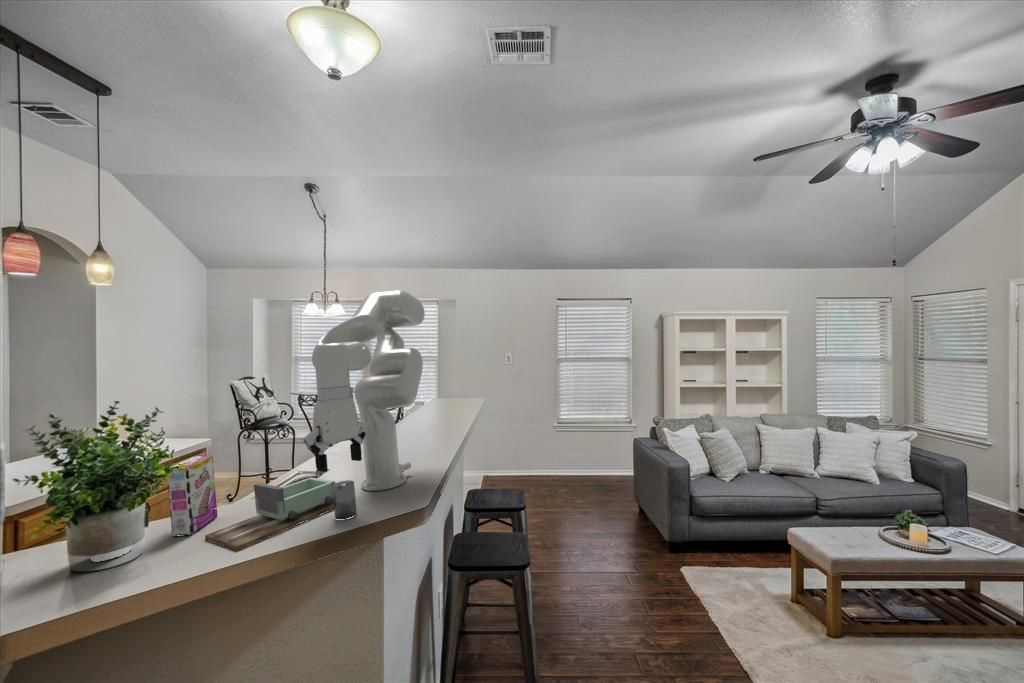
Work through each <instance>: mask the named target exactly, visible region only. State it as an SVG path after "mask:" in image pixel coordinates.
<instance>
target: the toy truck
mask: <svg viewBox="0 0 1024 683" xmlns="http://www.w3.org/2000/svg"><path fill="white" fill-rule="evenodd" d="M335 483H336V480H335V481H334V480H328V479H322V478H316V477H307V478H305V479H302V480H300V481H297V482H293V483H290V484H289V485H288V484H287V485H285V486H283V487H282V486H281V487H280V486H277V485H271V484H267V483H265V484H264V483H261V482H257V483H254V484H253V489H254V490H253V491H254V500H255V502H254V503H255V512H256V514H257V515H264V516H267V517H271V518H275V519H279V520H282V519H285V518H287V517H288V518H289V519H292V520H294V519H296V517H297V513H300V512H302V511H305V510H307V509H309V508H312V507H314V506H317V505H319V504H322V503H324V502H325V503H326V504H332V503H333V490H332V485H333V484H335Z"/></svg>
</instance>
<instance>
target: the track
mask: <svg viewBox="0 0 1024 683" xmlns="http://www.w3.org/2000/svg"><path fill="white" fill-rule="evenodd" d="M331 509H334V501H333V503H332V504H326V503H325V502H324V503H322V504H319V505H317V506H314V507H312V508H309V509H307V510H305V511H302V512H300V513H297V517H296V519H294V520H292V519H289V518H288V517H287V518H285V519H282V520H279V519H275V518H271V517H267V516H264V515H260V514H257V515H255V516H251V517H249V518H247V519H245V520H244V519H243V520H242V521H239V522H236V523H234V524H233V523H232V524H231V525H229V526H226V527H223V528H221V529H218V530H216V531H213V532H210V533H207V534H205V535H204V539H207V540H206V541H208V540H210V541H213V542H216V543H218V544H217V545H219V544H221V545H220V546H222V545H224V546H223V547H225V546H226V547H225V548H227V547H229V548H228V549H230V548H232V549H231V550H233V549H234V550H233V551H236V552H239V551H241V550H243V548H244V549H246V548H248V547H250V546H249V545H251V546H252V544H253V545H255V544H257V543H256V542H258V541H260V540H262V541H264V540H263V539H265V538H267V537H269V536H272V535H274V534H276V535H278V534H277V533H279V532H281V531H283V530H285V529H287V528H290V527H292V526H294V525H296V524H298V523H300V522H303V521H306V520H309V519H311V518H313V517H315V516H318V515H320V514H322V513H325V512H327V511H329V510H331ZM325 514H326V513H325ZM318 517H319V516H318ZM311 520H312V519H311ZM309 521H310V520H309ZM290 529H291V528H290ZM283 532H284V531H283ZM281 533H282V532H281ZM279 534H280V533H279ZM274 536H275V535H274ZM272 537H273V536H272ZM269 538H270V537H269ZM267 539H268V538H267ZM265 540H266V539H265ZM210 541H209V542H210ZM213 542H212V543H213ZM260 542H261V541H260ZM216 543H215V544H216ZM254 543H255V544H254ZM258 543H259V542H258ZM247 546H248V547H247ZM245 547H246V548H245Z"/></svg>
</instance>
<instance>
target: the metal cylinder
mask: <svg viewBox="0 0 1024 683" xmlns="http://www.w3.org/2000/svg"><path fill="white" fill-rule="evenodd" d="M332 490H333V501H334V510H333V511H334V519H335V518H336V519H346V518H349V517H352V516H354V515H356V514H357V515H358V512H357V500H356V491H355V490H356V487H355V481H353V480H342V481H338V482H335V484H333V485H332Z"/></svg>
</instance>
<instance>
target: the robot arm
mask: <svg viewBox="0 0 1024 683" xmlns="http://www.w3.org/2000/svg"><path fill="white" fill-rule="evenodd" d="M424 319H425V308H424V305H423V303H422V302H421V301H420V300H419V299H418V298H416V297H415V296H413V295H412V294H410V293H409V292H406V291H403V290H388V291H378V292H371V293H370V294H368V295H366V296H365V297H364V299H363V301H362V302H361V303H360V305H359V307H358V308H357V309H356V311H355V312H354V314H353V315H352V317H350V318H349V319H347V320H344V321H343V322H341V323H339V324H337V325H336V326H334V327H332V328H330V329H329V330H327V331H326V332H325V333H323V335H322V336H321V338H319V340H318V341H317V343H316V345H315V347H314V348H313V351H312V355H311V363H312V367H314V369H315V379H316V392H317V402H314V406H313V412H312V414H313V416H312V431H310V432H309V433H308V434H307V435H305V436H304V437H303V440H302V441H303V443H304V444H305V446H306V449H307V450H309V451H310V452H311V453H312V455H314V459H315V468H316V471H317V472H322V473H323V472H324V473H325V472H327V471H328V459H327V458H328V457H327V454H326V453H325V452H326V450H327V448H328V446H330V445H333V444H337V443H341V442H344V441H350V442H351V444H350V445H349V446H350V458H351V461H355V462H356V461H357V462H360V461H362V458H363V457H364V467H365V468H364V469H365V479H363V480H362V481H361V483H360V487H361V489H362V490H364V491H368V492H369V491H370V492H374V491H376V492H377V491H378V492H379V491H384V490H385V491H386V490H390V489H393V488H396V487H399V486H401V485H403V484H404V483H405V482H406V480H407V478H406V475H405V474H403V473H404V472H405V471H407V470H409V469H411V468H412V464H411V462H405V463H403V464H402V463H400V460H399V448H398V436H397V426H396V421H395V418H394V416H393V414H391V412H390V411H389V410H388V409H393V408H394V409H396V408H406V407H407V408H408V407H410V406H412V405H413V404H414V403H415V401H416V399H417V395H418V391H419V388H420V383H421V378H422V375H423V368H424V363H423V357H422V353H421V352H420V351H419V350H418V349H417V348H414V347H405V341H404V340H403V338H402V337H401V335H400V334H399V332H396V330H394V328H402V327H404V328H405V327H413V326H419V325H420V324H422V323H423V322H424ZM373 339H376V340H377V342H376V344H375V348H374V350H373V353H371V350H370V348H369V346H368V345H367V344H365V343H366V342H369V341H371V340H373ZM367 367H369V374H370V376H366V377H363V378H361V379H360V380H359V381H357V382H356V384H355V386H354V387H352V386H351V378H350V376H351V375H350V372H357V371H361V370H362V371H363V370H365V368H367ZM353 392H354V397H355V400H354V398H353V397H352V393H353ZM355 402H356V404H355ZM356 405H357V407H358V412H359V413H358V412H357V407H356ZM358 414H359V418H360V420H359V418H358ZM362 447H363V448H362ZM362 449H363V457H362Z"/></svg>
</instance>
